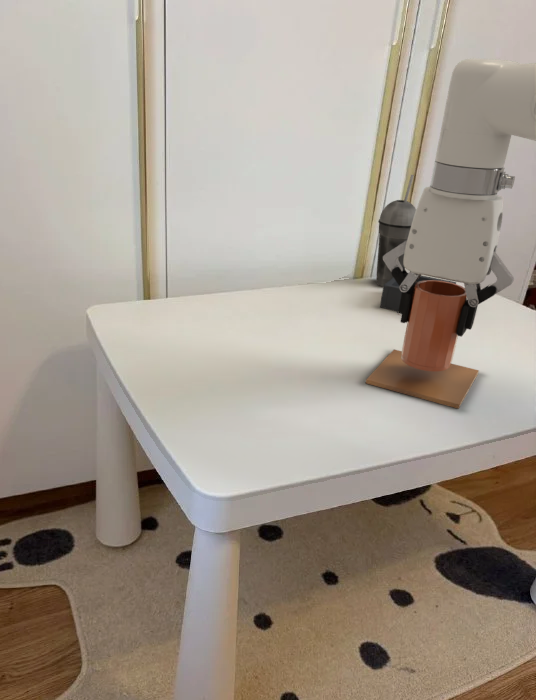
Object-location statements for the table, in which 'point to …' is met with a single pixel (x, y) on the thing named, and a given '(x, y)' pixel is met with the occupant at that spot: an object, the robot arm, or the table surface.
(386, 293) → the cup holder
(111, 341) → the table surface
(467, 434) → the table surface
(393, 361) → the cork mat
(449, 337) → the tumbler
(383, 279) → the beverage cup
